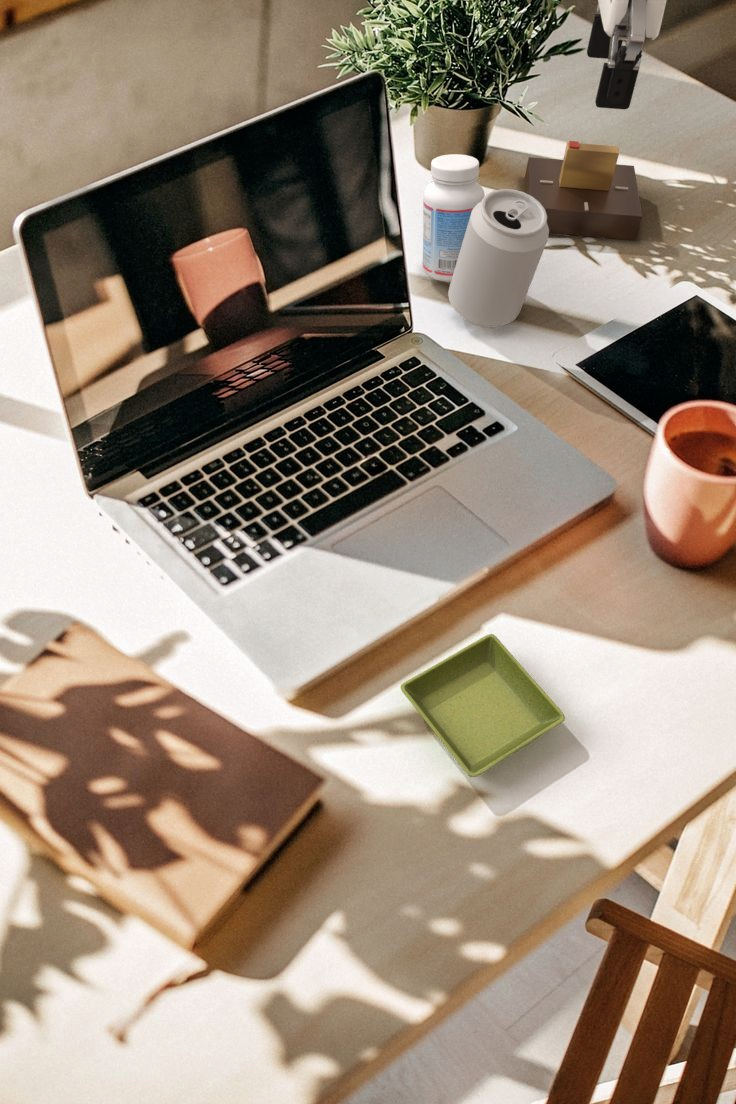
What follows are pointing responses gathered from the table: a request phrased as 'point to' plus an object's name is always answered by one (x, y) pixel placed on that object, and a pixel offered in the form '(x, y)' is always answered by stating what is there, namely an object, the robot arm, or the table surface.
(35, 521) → the table surface
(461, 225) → the pill bottle
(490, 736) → the green square dish
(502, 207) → the can
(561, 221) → the base
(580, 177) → the tap handle
